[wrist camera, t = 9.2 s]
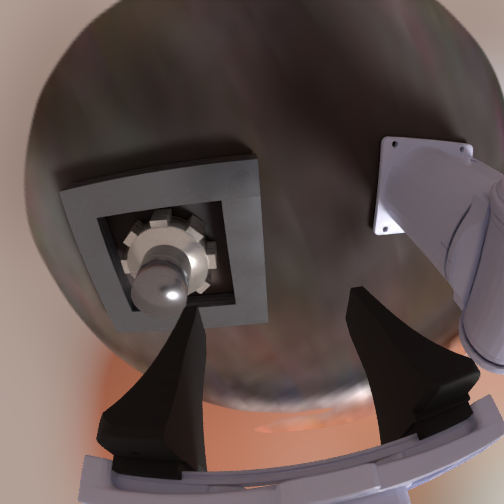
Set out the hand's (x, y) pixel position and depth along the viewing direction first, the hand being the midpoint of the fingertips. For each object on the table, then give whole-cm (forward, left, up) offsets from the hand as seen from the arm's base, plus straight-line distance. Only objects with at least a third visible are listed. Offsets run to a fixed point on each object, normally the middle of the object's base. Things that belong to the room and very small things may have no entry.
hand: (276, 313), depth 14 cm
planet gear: (+7, +2, -9) cm, 12 cm away
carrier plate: (+7, +2, -9) cm, 12 cm away
